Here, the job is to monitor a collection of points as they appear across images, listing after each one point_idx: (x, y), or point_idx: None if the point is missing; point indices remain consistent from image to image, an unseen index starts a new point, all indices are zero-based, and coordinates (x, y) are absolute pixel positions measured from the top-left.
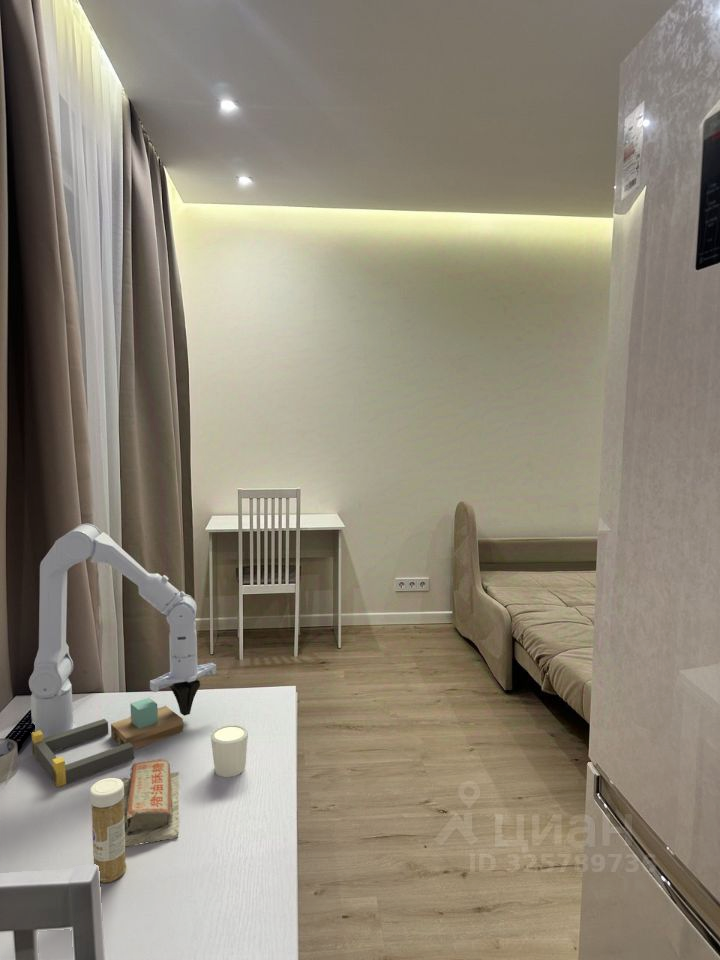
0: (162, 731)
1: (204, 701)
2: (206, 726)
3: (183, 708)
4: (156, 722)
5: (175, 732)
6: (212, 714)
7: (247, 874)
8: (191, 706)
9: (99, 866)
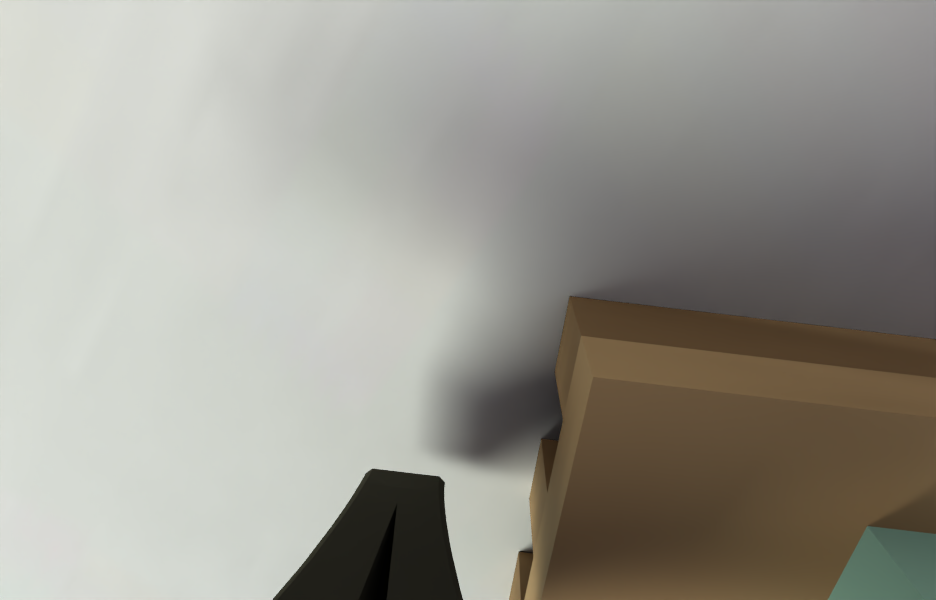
0: (868, 370)
1: (100, 591)
2: (314, 184)
3: (450, 556)
4: (890, 533)
5: (667, 315)
6: (133, 361)
7: None
8: (329, 530)
9: None
